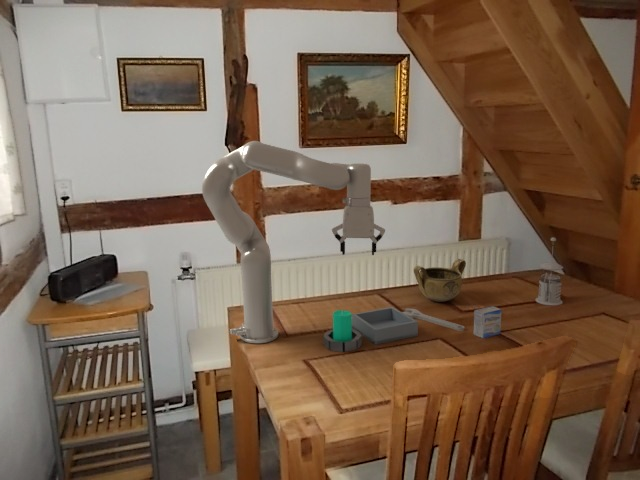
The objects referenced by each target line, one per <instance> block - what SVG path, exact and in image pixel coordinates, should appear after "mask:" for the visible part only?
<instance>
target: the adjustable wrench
mask: <svg viewBox="0 0 640 480" xmlns="http://www.w3.org/2000/svg"><path fill="white" fill-rule="evenodd" d="M402 313H404V314H406V315H407V316H409V317H411V318H413V319H414V318H415V319H414V320H416V319H417V320H423V321H426V322H429V323H432V324H435V325H439V326H441V327H445V328H448V329H452V330H455V331H459V332H463V331H464V332H465V326H464V325H461V324H458V323H455V322H452V321H448V320H444V319H442V318H437V317H434V316H432V315H431V316H430V315H427V314H424V313H423V312H421V311H419V310H418V309H416V308H404V311H402Z"/></svg>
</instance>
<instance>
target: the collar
mask: <svg viewBox="0 0 640 480" xmlns="http://www.w3.org/2000/svg"><path fill="white" fill-rule="evenodd" d="M322 335H323V336H322V337H323V340H322V341H323V342H322V343H323V346H324V348H326V349H327V350H330V351H332V352H333V351H334V352H340V353H343V352H344V353H347V352H352V351H356V350H358V349H359V348H360V347H361V346H362V341H363V335H362V334H360V333H359V332H358V331H356V330H354V329H353V328H352V339H351V340H346V341H339V340H333V329H329V330H327V331H326V332H325V333H324V334H322Z"/></svg>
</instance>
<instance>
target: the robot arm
mask: <svg viewBox="0 0 640 480" xmlns="http://www.w3.org/2000/svg"><path fill="white" fill-rule="evenodd" d="M371 168H372V167H371V166H370V164H367V163H349V164H347V163H339V162H338V163H337V162H332V163H330V162H326V161H322V160H318V159H315V158H312V157H309V156H306V155H304V154H303V153H300V152H298V151H294V150H291V149H287V148H282V147H278V146H275V145H271V144H267V143H264V142H261V141H258V140H252V141H249V142H247V143H245V144H243V145H242V146H241V147H239V148H236V149H235V150H233V151H230V153H227V154H225V155H224V156H222V157H220V158H218V159H216V160H215V161H214V162H213V163H212V164H211V165H210V167H209V168H208V170H207V171H206V172H205V175H204V177H203V180H202V185H201V191H202V197H203V200H204V202H205V204H206V205H207V207H208V209H209V211H210V213H211V214H212V216H213V217H214V219H215V221H216V223H217V225H218V226H219V228H220V229H221V231H222V233H223V234H224V237H225V238H226V239H227V241H229V242H230V243H231V244H232V245H235V247H236V248H237V250H238V251H239V253H240V274H241V288H242V305H243V306H242V307H243V320H244V321H243V322H241V325H240V326H239V327H234V328H230V330H229V333H230V335H235V336H237V337H240V340H241V341H243V342H245V343H249V344H265V343H269V342H272V341H274V340H276V339H278V337H279V330H278V329H276V328H274V309H273V308H274V307H273V289H272V259H271V258H272V257H271V249H270V246H269V244H268V242H267V241H266V239H265V237H264V236H263V234H262V232H261V231H260V229H259V228H258V226H257V224H256V222H255V220H254V219H253V218H252V216H251V215H250V214H249V213H247V212H246V211H243V210H242V209H241V207H240V205H239V204H238V201H237V200H236V199H235V196H233V194H232V191H231V186H232V185H233V184H234V182H235V181H236V180H238V179H240V178H242V177H244V176H245V175H247V174H249V173H250V172H252V171H259V172H263V173H267V174H270V175H271V174H272V175H276V176H279V177H283V178H287V179H291V180H294V181H298V182H303V183H307V184H310V185H314V186H318V187H322V188H326V189H329V190H335V191H338V190H339V191H340V190H342V189H344V188H346V197H345V198H342V204H345V206H344V208H343V213H342V215H343V216H342V223H340V224H338V225H337V226H334V227H333V228H332V229H331V231H332V234H333V236H334V239H336V240H337V241H338V242H339V244H340V245H339V246H340V247H339V249H340V253H341V252H342V255H343V256H344V255H345V254H346V241H345V240H346V239H370V240H371V241H372V242H371V255H372V256H374V255H375V253H377V243H378V242H379V241H380V240H381V239H382V238H383V237H384V234H385V232H386V228H384V227H382V226H380V225H378V224H376V223H375V214H374V209H373V207H374V206H372V205H371V191H372V190H371V189H372V188H371V186H372V184H371V178H372V176H371V175H372V169H371ZM339 230H342V235H340V234H339V233H338V231H339ZM375 230H377V231H379V233H378V235H377V236H376V235H375Z"/></svg>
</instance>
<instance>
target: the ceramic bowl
mask: <svg viewBox="0 0 640 480" xmlns="http://www.w3.org/2000/svg"><path fill="white" fill-rule="evenodd" d="M466 265H467V262H466V260H464V259H462V258H455V260H454V262H453V263H452V265H451V267H448V268H447V267H440V266H439V267H438V266H436V267H435V266H434V267H433V266H432V267H426V268H424V267H423V266H420V265H415V266H414V268H413V273H414V277H415V279H416V281H417V285H418V288H419V290H420V292H421V293H422V295H423V296H424V297H425V298H427V299H428V300H430V301H433V302H437V303H438V302H439V303H442V302H449V301H451V300H453V299H454V298H456V297H457V296H458V295H459V293H460V292H461V290H462V286H463V277H462V275H463V274H464V273H463V272H464V270H465V268H466Z"/></svg>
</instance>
